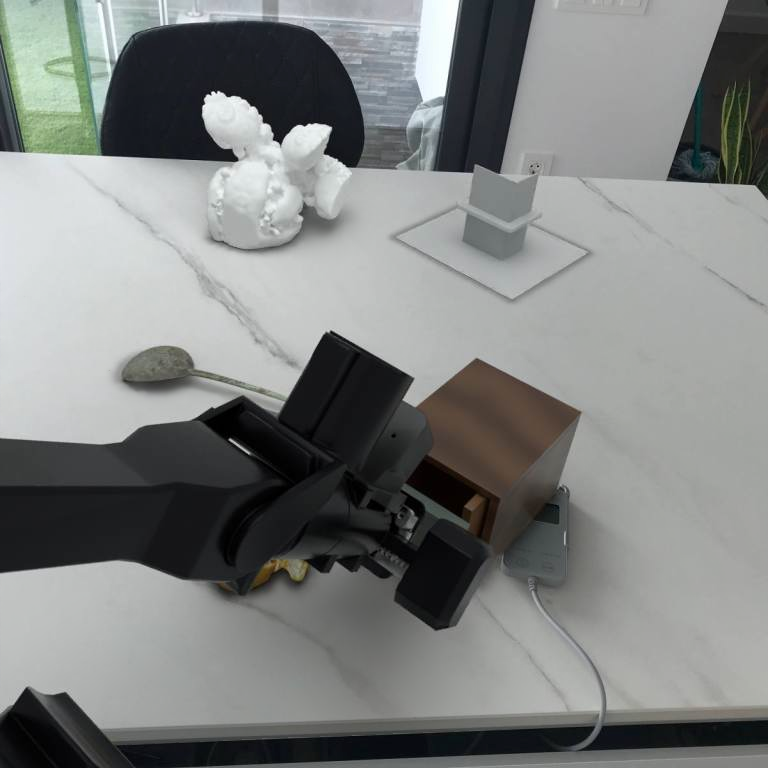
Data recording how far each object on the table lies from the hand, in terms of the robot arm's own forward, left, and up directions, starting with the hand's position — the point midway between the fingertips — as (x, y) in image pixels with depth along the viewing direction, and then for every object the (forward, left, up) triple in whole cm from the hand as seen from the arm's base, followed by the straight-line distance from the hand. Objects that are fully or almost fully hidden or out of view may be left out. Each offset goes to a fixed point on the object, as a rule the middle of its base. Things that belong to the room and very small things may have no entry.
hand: (403, 521), depth 61 cm
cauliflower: (+59, +23, -8) cm, 63 cm away
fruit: (0, +11, -8) cm, 14 cm away
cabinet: (+10, -6, -8) cm, 14 cm away
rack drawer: (+4, -2, -7) cm, 8 cm away
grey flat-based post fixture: (+60, -8, -8) cm, 61 cm away
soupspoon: (+21, +21, -8) cm, 30 cm away
